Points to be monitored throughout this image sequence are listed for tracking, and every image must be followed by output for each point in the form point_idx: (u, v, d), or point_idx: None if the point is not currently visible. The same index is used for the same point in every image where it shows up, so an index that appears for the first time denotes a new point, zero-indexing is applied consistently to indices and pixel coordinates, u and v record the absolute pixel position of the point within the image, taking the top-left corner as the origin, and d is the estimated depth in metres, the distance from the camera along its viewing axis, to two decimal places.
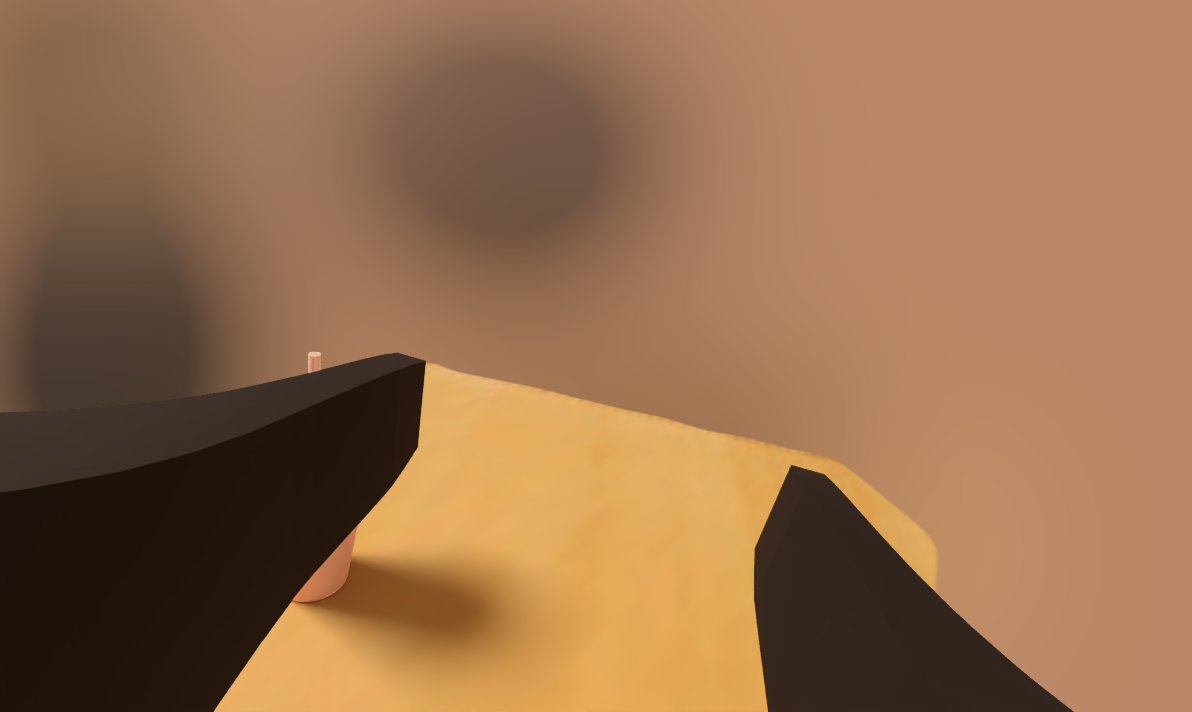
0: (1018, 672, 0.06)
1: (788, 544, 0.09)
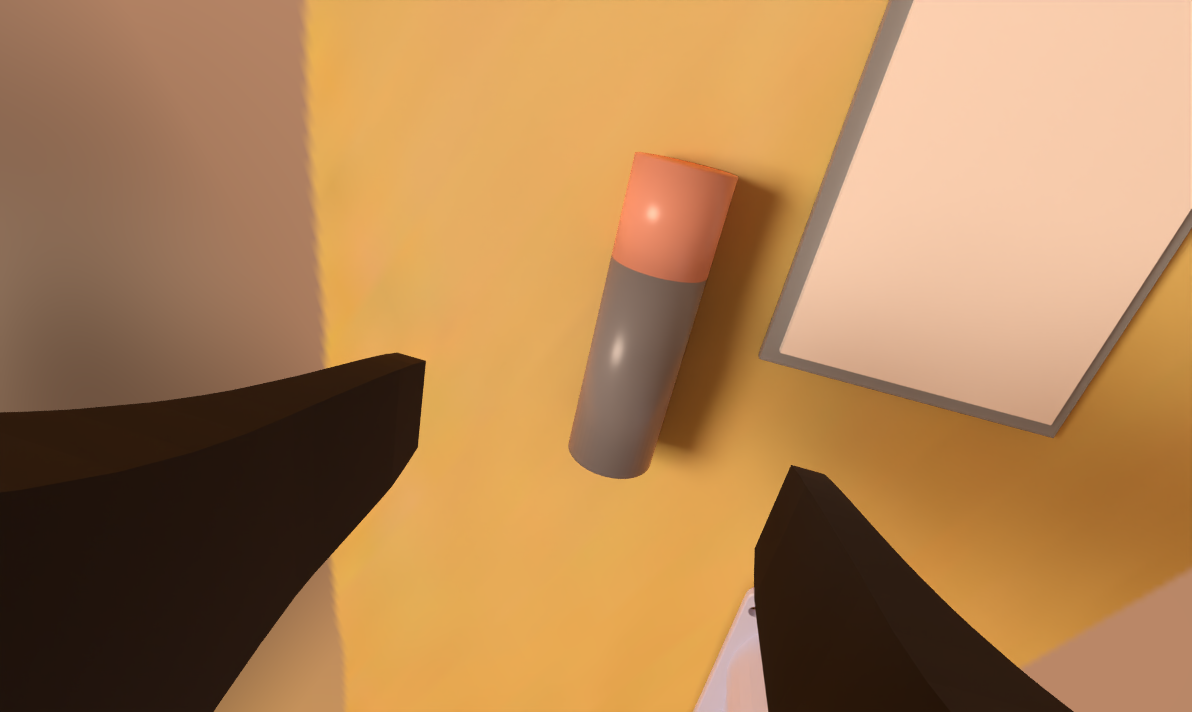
0: (1018, 672, 0.06)
1: (788, 544, 0.09)
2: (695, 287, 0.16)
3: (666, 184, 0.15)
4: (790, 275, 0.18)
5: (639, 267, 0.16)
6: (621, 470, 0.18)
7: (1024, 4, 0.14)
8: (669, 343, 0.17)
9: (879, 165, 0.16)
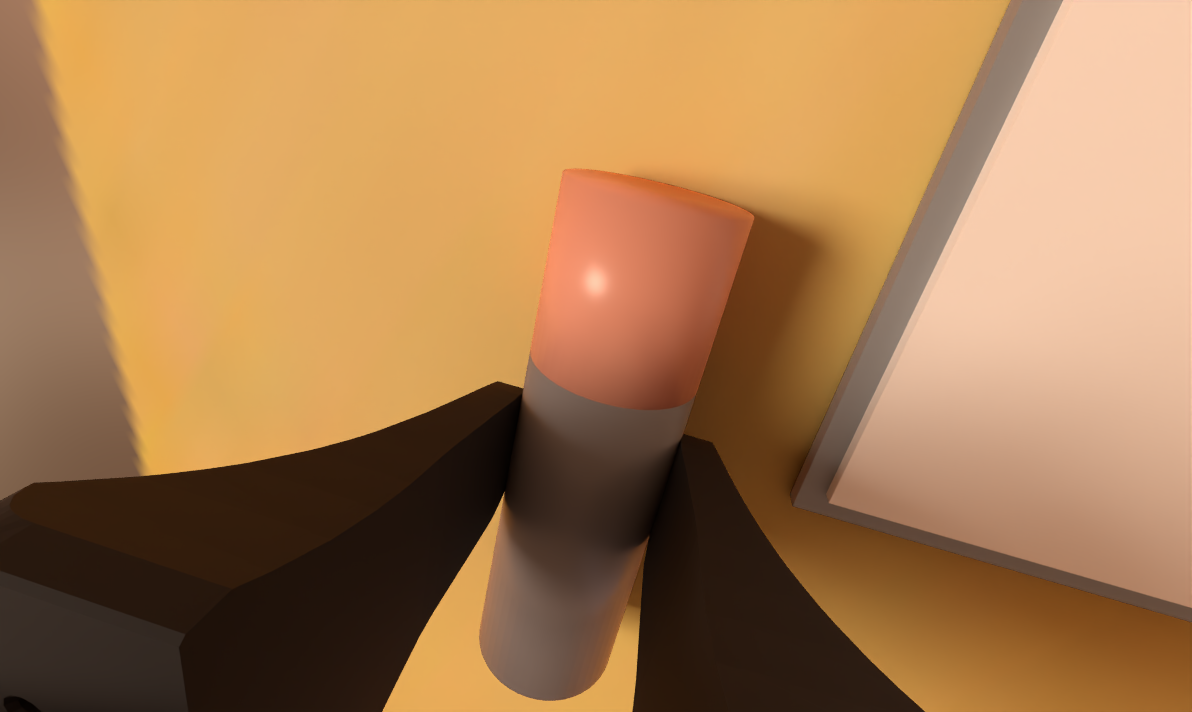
0: (817, 611, 0.06)
1: (666, 508, 0.09)
2: (669, 415, 0.09)
3: (605, 232, 0.08)
4: (849, 380, 0.10)
5: (563, 378, 0.09)
6: (549, 689, 0.11)
7: None
8: (622, 507, 0.09)
9: (1029, 197, 0.08)
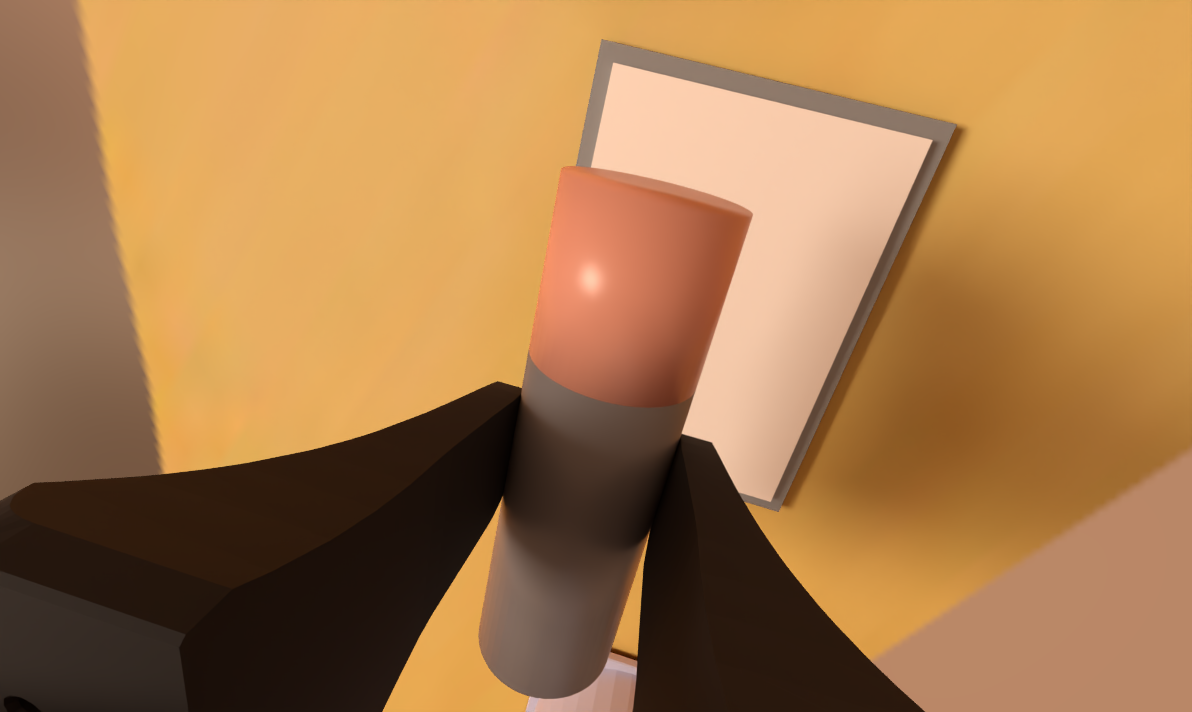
0: (817, 611, 0.06)
1: (666, 508, 0.09)
2: (668, 413, 0.09)
3: (604, 229, 0.08)
4: None
5: (561, 376, 0.09)
6: (548, 688, 0.11)
7: (684, 146, 0.15)
8: (620, 505, 0.09)
9: None
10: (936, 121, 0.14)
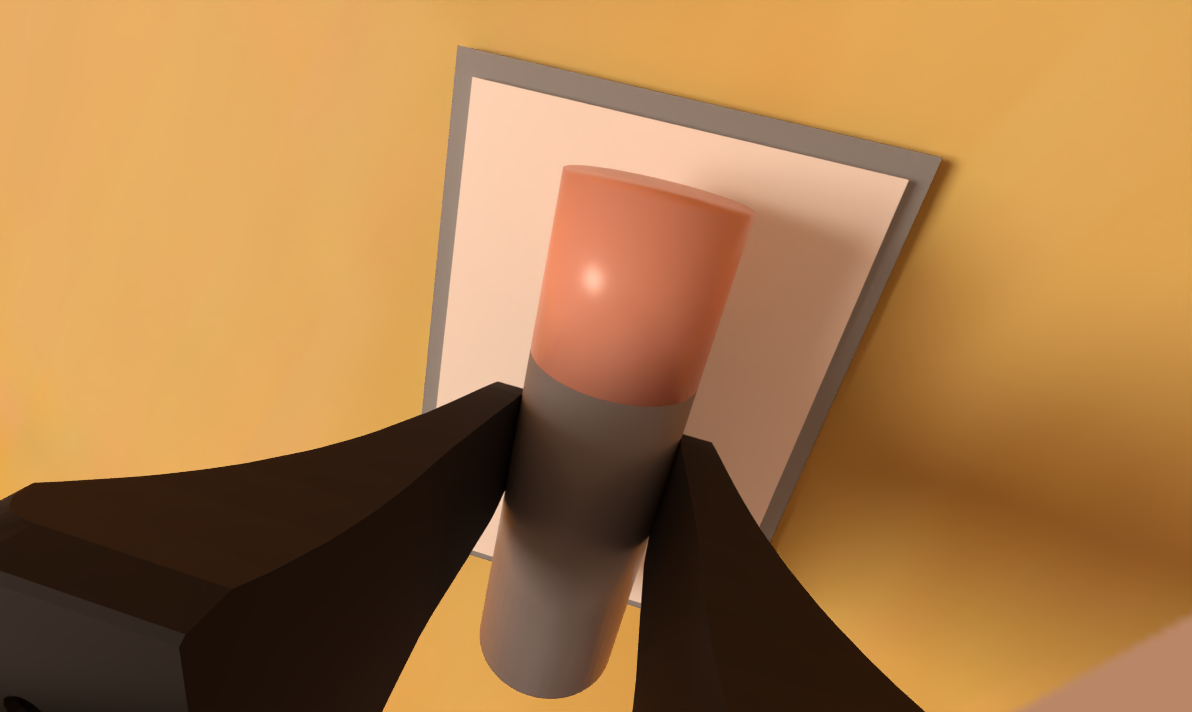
0: (817, 610, 0.06)
1: (666, 508, 0.09)
2: (670, 412, 0.09)
3: (606, 227, 0.07)
4: None
5: (563, 375, 0.09)
6: (550, 687, 0.11)
7: None
8: (622, 504, 0.09)
9: (470, 349, 0.13)
10: (913, 153, 0.10)
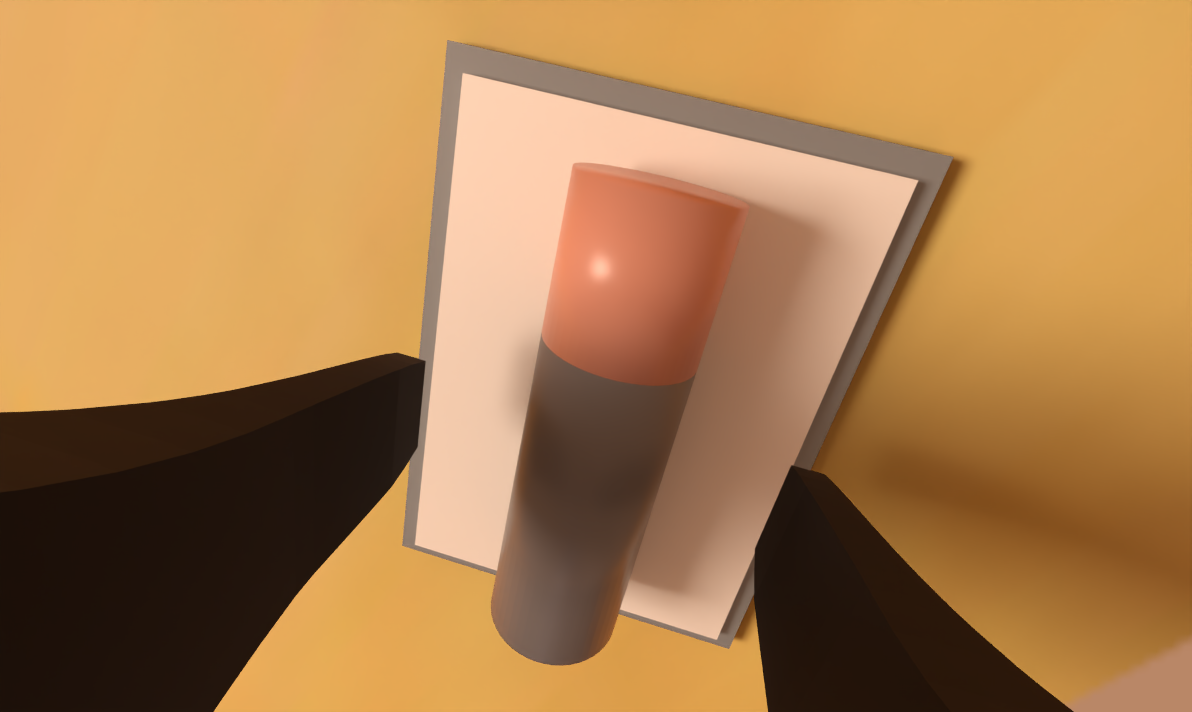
0: (1018, 672, 0.06)
1: (788, 544, 0.09)
2: (670, 391, 0.10)
3: (612, 219, 0.08)
4: (411, 461, 0.15)
5: (571, 356, 0.09)
6: (556, 654, 0.12)
7: None
8: (625, 478, 0.10)
9: (461, 356, 0.13)
10: (923, 152, 0.10)
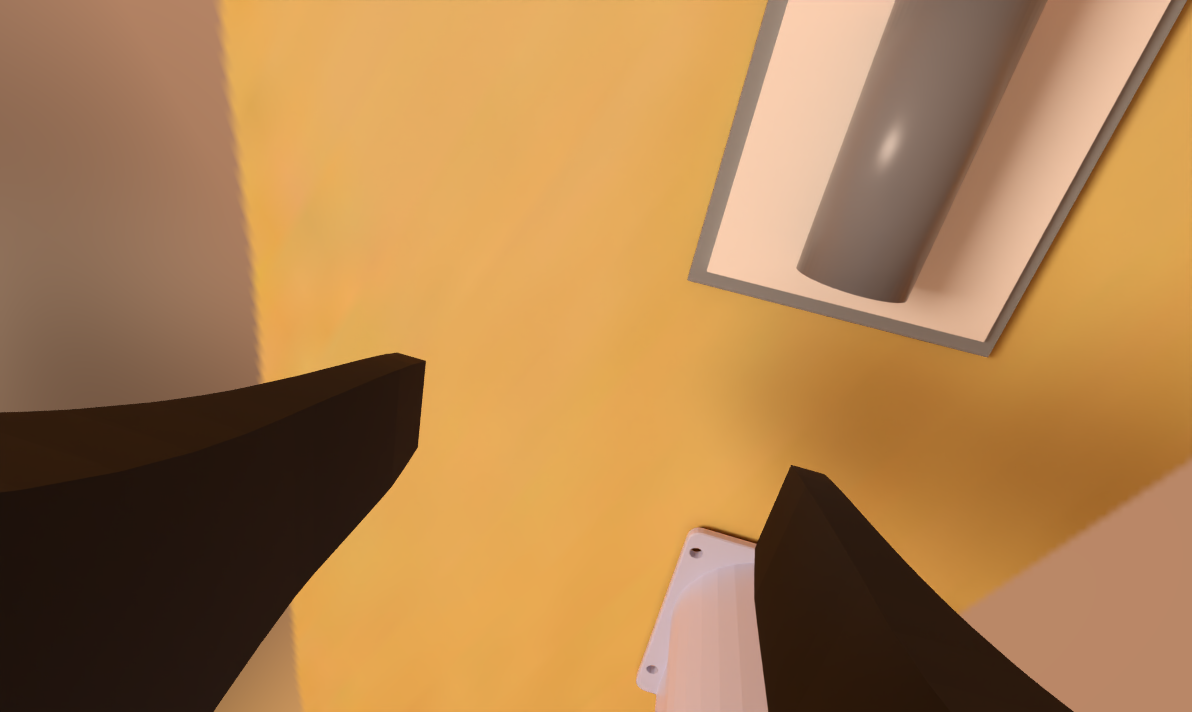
0: (1018, 672, 0.06)
1: (788, 544, 0.09)
2: None
3: None
4: (714, 188, 0.17)
5: None
6: (865, 283, 0.14)
7: None
8: (971, 83, 0.12)
9: (796, 62, 0.15)
10: None
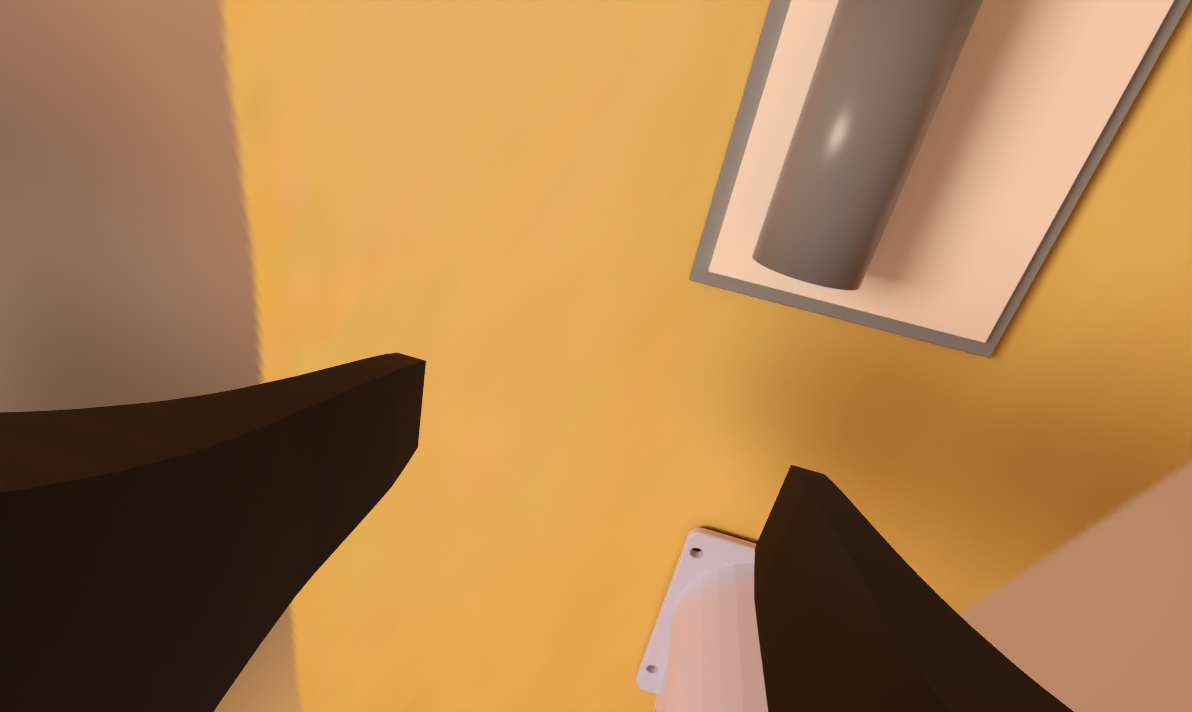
0: (1018, 672, 0.06)
1: (788, 544, 0.09)
2: None
3: None
4: (716, 188, 0.17)
5: None
6: (769, 254, 0.15)
7: None
8: (852, 59, 0.13)
9: (799, 62, 0.15)
10: None
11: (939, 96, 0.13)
